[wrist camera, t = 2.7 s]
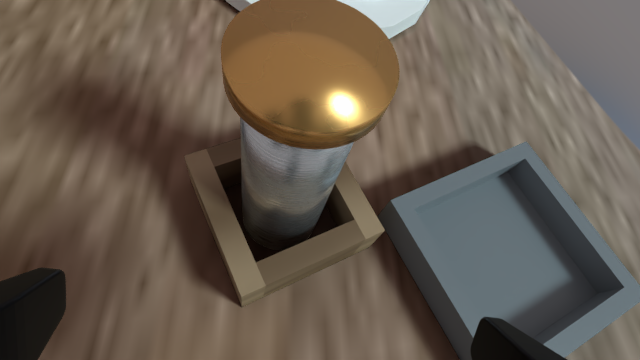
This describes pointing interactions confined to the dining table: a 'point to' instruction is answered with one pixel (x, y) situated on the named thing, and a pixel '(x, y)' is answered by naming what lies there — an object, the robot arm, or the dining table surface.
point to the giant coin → (375, 12)
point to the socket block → (295, 262)
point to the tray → (509, 254)
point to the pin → (301, 106)
